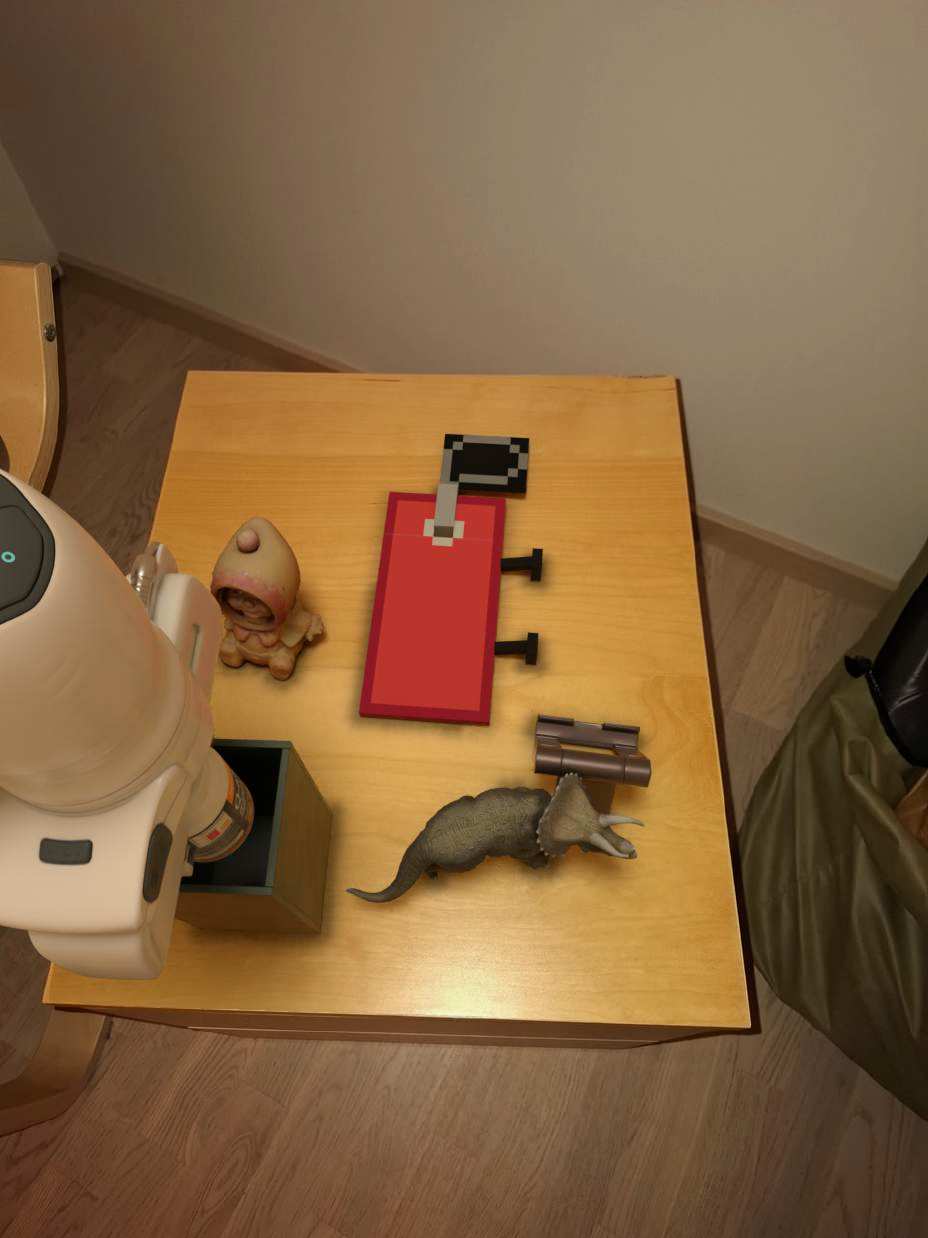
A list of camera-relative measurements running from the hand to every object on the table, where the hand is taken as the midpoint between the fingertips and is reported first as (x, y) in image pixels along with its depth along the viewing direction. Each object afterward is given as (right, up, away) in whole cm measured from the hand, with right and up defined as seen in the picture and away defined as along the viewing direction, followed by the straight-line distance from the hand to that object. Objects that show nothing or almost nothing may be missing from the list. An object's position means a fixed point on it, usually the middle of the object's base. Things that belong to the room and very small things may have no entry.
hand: (190, 802), depth 53 cm
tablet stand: (+26, -2, +24) cm, 35 cm away
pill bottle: (0, -2, +4) cm, 4 cm away
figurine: (-1, +10, +29) cm, 31 cm away
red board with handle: (+16, +15, +32) cm, 39 cm away
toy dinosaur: (+18, -8, +21) cm, 28 cm away
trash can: (0, -10, +20) cm, 22 cm away
